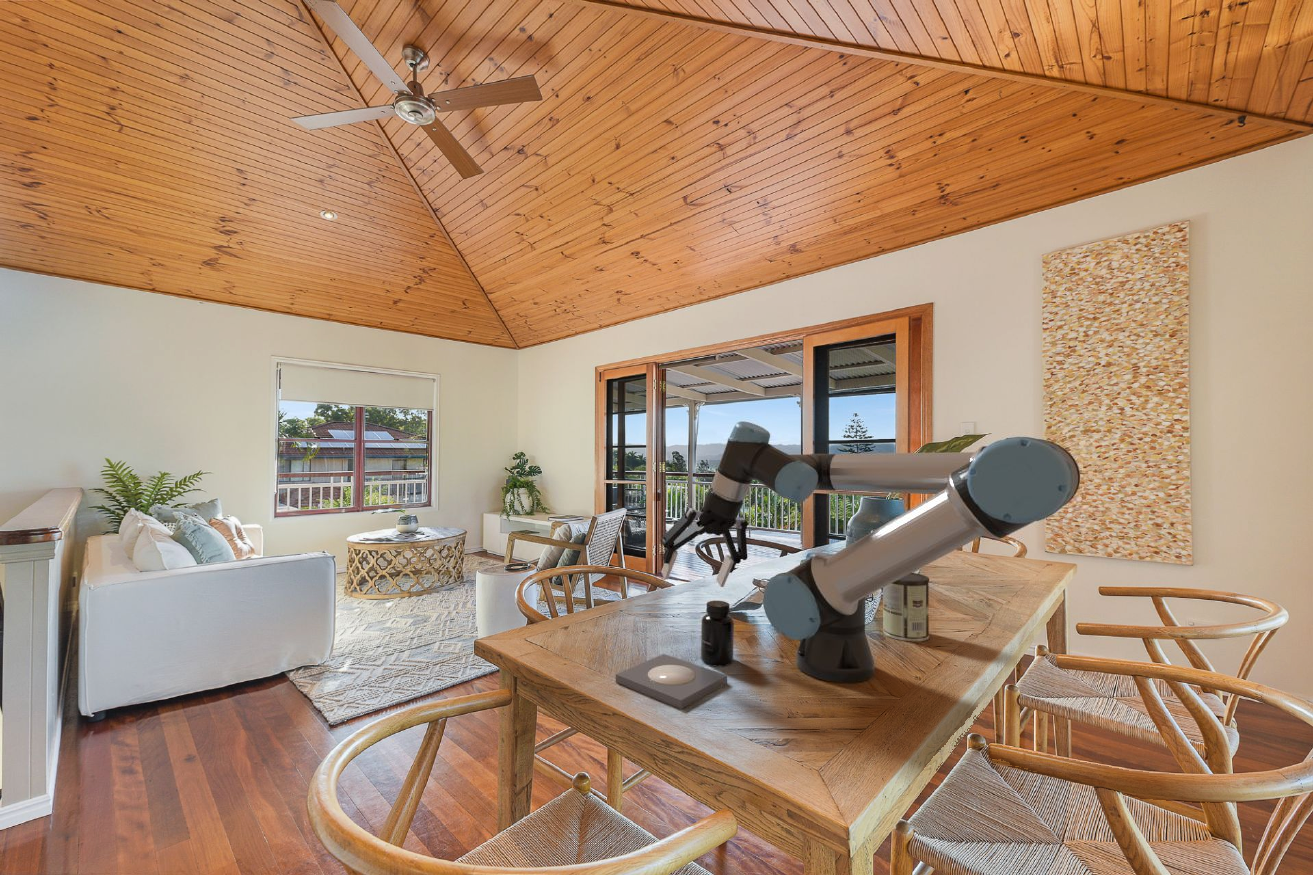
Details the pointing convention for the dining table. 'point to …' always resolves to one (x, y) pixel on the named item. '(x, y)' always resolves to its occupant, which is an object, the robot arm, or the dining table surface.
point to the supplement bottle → (717, 634)
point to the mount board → (671, 680)
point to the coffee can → (907, 608)
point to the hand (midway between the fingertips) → (692, 579)
